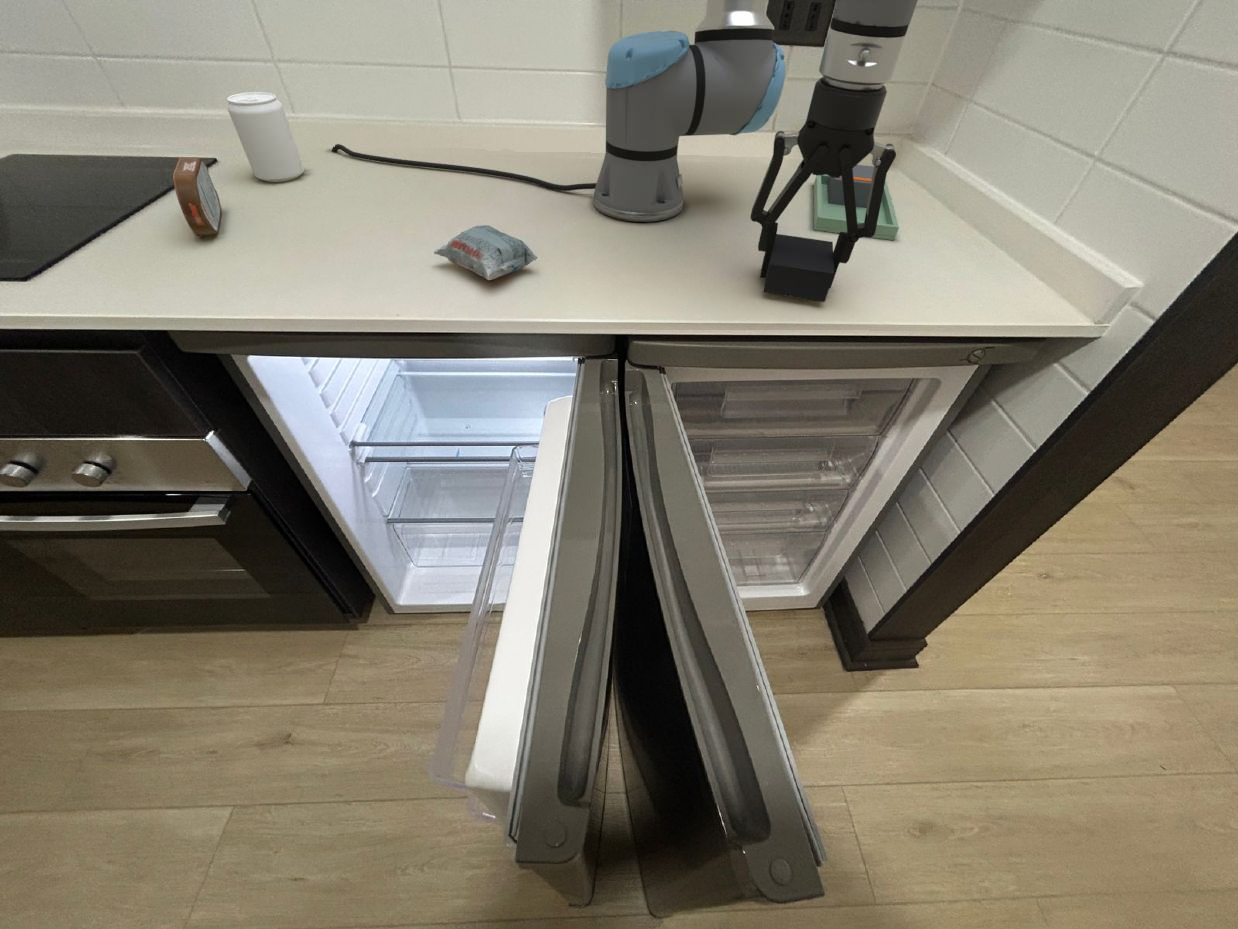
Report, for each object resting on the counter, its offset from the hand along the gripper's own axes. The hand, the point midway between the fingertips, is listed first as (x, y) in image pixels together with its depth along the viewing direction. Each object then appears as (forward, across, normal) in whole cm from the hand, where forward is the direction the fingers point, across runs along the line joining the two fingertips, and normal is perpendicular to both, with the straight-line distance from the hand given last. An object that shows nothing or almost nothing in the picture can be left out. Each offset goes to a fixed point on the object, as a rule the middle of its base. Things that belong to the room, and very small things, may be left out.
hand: (795, 278), depth 76 cm
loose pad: (0, 0, 0) cm, 0 cm away
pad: (+1, +9, +37) cm, 38 cm away
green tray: (+2, +9, +32) cm, 33 cm away
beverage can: (+3, -91, +14) cm, 92 cm away
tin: (+2, -87, -7) cm, 87 cm away
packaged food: (+2, -42, -8) cm, 43 cm away
